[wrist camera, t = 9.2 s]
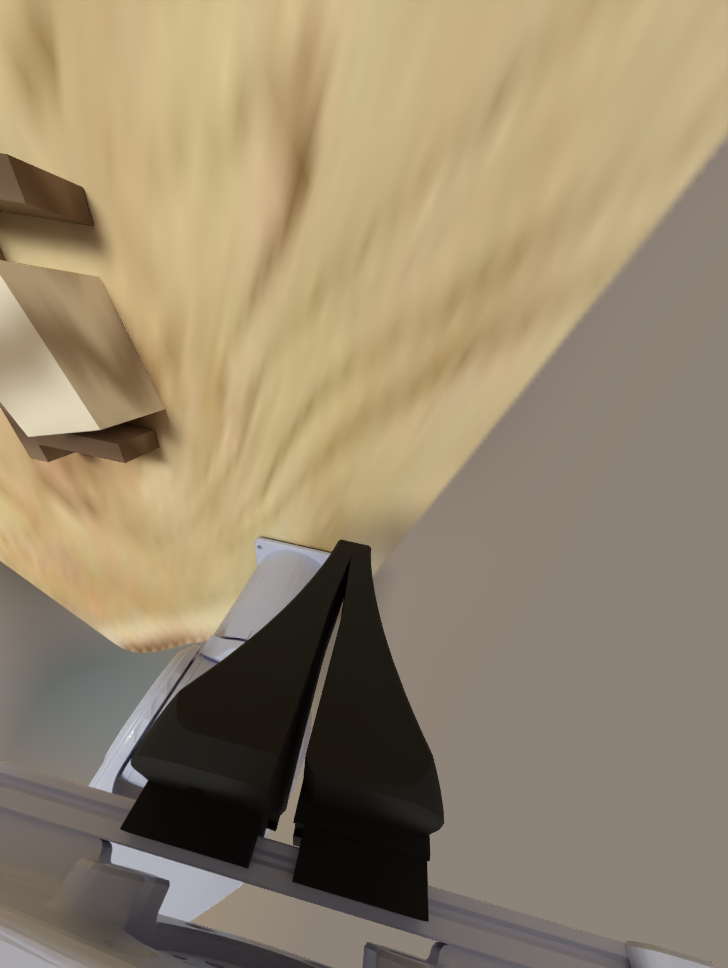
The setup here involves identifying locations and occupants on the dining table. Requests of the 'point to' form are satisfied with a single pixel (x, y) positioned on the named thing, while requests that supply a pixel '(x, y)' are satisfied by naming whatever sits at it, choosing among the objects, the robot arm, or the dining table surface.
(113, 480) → the dining table surface
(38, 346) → the maple block
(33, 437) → the walnut stop
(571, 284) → the dining table surface
